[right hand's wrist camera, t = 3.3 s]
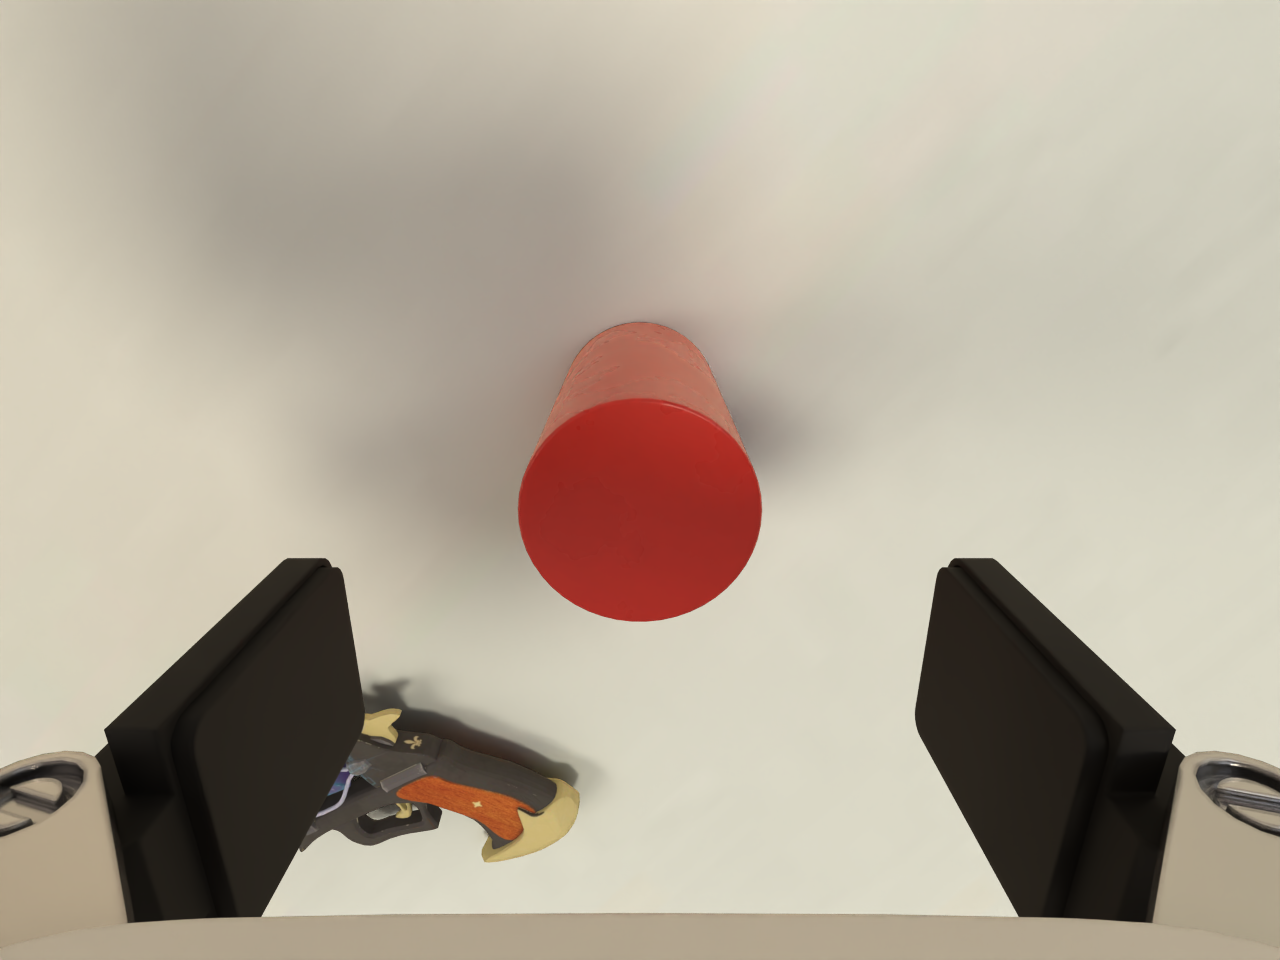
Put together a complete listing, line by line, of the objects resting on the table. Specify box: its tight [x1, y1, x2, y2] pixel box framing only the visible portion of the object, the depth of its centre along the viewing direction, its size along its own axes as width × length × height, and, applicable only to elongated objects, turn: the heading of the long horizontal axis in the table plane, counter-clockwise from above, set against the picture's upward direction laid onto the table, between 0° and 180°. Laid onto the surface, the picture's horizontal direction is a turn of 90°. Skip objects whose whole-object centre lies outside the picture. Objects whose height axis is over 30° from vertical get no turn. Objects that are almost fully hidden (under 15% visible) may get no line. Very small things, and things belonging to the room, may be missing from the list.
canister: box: [518, 322, 762, 622], centre depth 19 cm, size 5×5×10 cm
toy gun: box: [299, 709, 580, 862], centre depth 28 cm, size 3×19×10 cm
